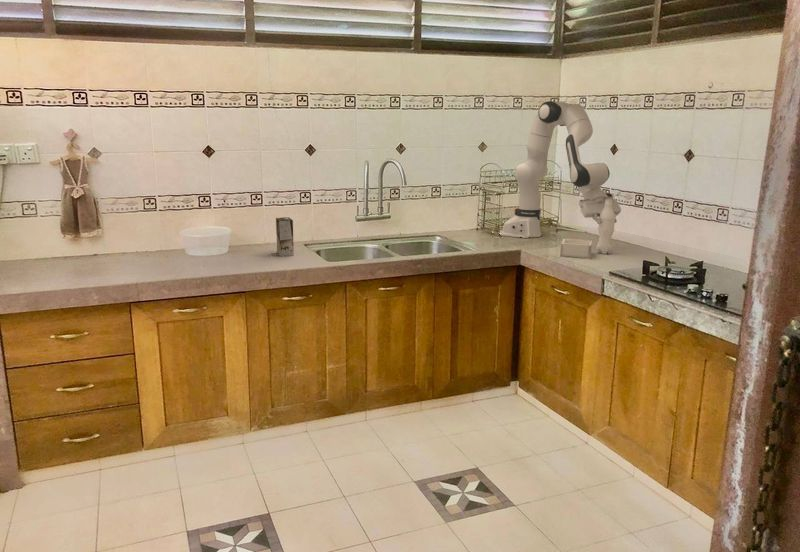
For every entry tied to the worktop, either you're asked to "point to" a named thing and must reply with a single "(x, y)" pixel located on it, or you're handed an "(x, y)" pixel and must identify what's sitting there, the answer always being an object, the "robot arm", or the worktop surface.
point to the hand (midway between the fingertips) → (607, 222)
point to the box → (576, 248)
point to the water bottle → (606, 228)
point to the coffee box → (284, 236)
